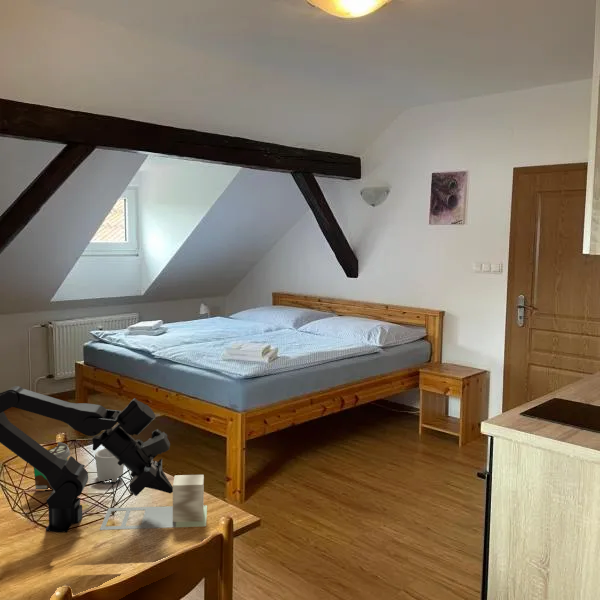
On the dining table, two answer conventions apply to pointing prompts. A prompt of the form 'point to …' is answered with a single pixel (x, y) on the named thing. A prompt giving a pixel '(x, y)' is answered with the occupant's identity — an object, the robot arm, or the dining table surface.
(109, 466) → the cup
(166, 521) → the plate
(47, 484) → the food container
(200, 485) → the block
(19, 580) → the dining table surface
